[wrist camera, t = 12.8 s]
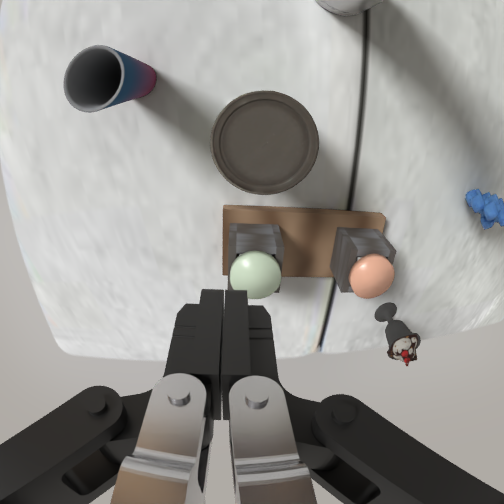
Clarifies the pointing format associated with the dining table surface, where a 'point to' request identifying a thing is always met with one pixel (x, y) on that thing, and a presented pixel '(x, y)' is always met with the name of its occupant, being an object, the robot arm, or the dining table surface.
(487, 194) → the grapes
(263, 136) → the coffee can
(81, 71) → the cup
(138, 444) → the robot arm
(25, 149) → the dining table surface
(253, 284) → the button
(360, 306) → the dining table surface
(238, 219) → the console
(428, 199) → the dining table surface
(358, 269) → the button
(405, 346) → the sundae
